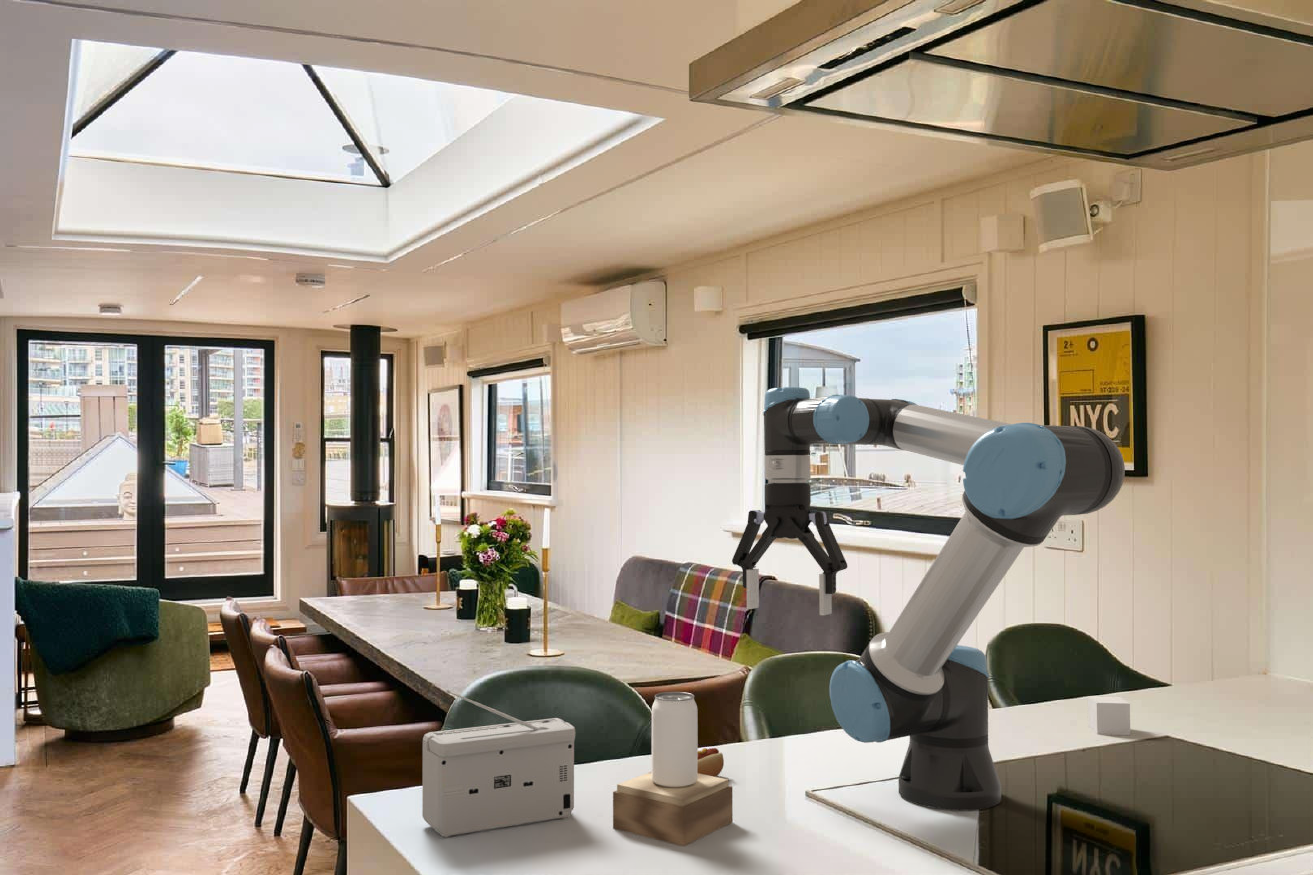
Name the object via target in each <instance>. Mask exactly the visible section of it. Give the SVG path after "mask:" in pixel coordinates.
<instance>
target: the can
mask: <svg viewBox="0 0 1313 875" xmlns="http://www.w3.org/2000/svg"><path fill="white" fill-rule="evenodd" d="M698 725H699V724H698V705H697V702H696V701H695V695H694V694H693V693H689V692H683V691H682V692H681V691H664V692H659V693H657V694H655V695H654V702H653V703H652V706H651V772H652V781H653V782H654V783H655V784H656V785H658V786H662V787H667V788H682V787H688V786H691V785H694V784H695V782H696V781H697V760H698V751H699V750H698V749H699V748H698V746H699V744H698V743H699V742H698V740H699V739H698V738H699V737H698V733H699V731H698V730H699V729H698V728H699V727H698Z"/></svg>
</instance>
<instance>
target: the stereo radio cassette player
mask: <svg viewBox="0 0 1313 875" xmlns="http://www.w3.org/2000/svg"><path fill="white" fill-rule="evenodd" d="M445 693H446V694H448V695H449V694H452V695H454V696H456V698H457V697H458V698H460V699H462V700H464V701H466V702H469V703H471V704H474V706H477V707H479V708H481V709H484V710H487V711H489V712H491V713H493V714H496V715H498V716H500V717H503V718H504V719H506V720H509V721H512V722H509V723H500V724H499V723H498V724H491V725H484V726H473V727H465V728H464V727H463V728H456V729H449V730H448V729H447V730H438V731H428V732H427V733H425V734H424V735H423V738H422V807H421V808H422V818H423V820H424V821H425V822H426V823H427V824H428V825H429V826H430V827H431V828H432V829H434V830H435V832H436V833H438V834H440V835H441V836H442V837H444V838H445V839H446V838H447V839H448V838H449V837H450V836H455V835H456V836H458V835H462V834H467V833H475V832H481V831H486V830H487V831H488V830H494V829H500V828H507V827H513V826H519V825H526V824H531V823H537V822H544V821H549V820H550V821H551V820H555V819H556V820H557V819H567V817H570V815H571V813H572V811H573V810H574V808H575V740H576V728H575V726H573V725H572V724H571V723H569V722H566V721H564V720H563V719H562V718H560V717H559V718H558V717H554V718H553V717H552V718H544V719H538V720H537V719H534V720H527V721H523V720H520V719H518V718H516V717H513V716H511V715H509V714H506V713H504V712H501V711H499V710H498V709H494V708H492V707H490V706H487V705H484V704H482V703H479V702H477V701H474V700H471V699H469V698H467V697H464V696H461V695H459V694H456V693H454V692H451V690H449V689H446V690H445Z"/></svg>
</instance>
